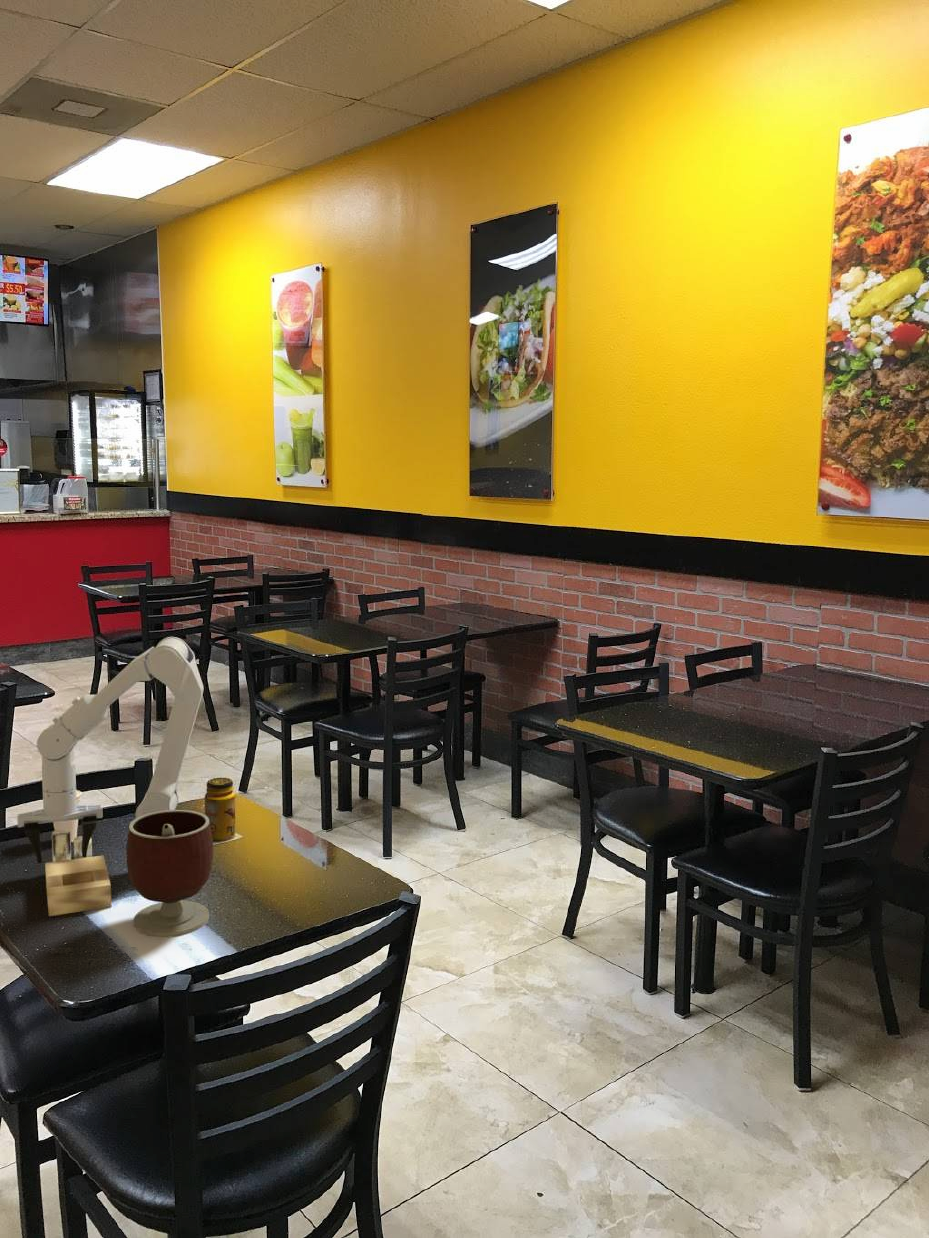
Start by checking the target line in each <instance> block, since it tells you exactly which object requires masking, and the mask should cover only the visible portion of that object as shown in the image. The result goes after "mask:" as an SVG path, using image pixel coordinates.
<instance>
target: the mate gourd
mask: <svg viewBox="0 0 929 1238" xmlns="http://www.w3.org/2000/svg"><path fill="white" fill-rule="evenodd" d="M128 827H129V829H128V834H127V839H126V840H127V841H126V848H125V849H126V850H125V851H126V867H127V873H128V877H129V879H130V880H129V881H130V884H131V885H132V887H133V888H134V889H135V890H136V891H137V892H138V894H139V895H141V897H142V898H144V899H145V900H148V901H151V902H157V903H155V904H151V905H149V906H146V907H145V908H142V909H141V910H139V911H138V912H137V913H136V914H135V915H134V917H133V927H135V928H136V929H135V928H134V929H135V930H136V931H137V930H138V931H139V932H138V931H137V932H138V933H140V934H142V935H145V936H150V937H154V936H155V937H156V936H158V938H170V937H169V936H172V937H178V936H183V935H187V934H190V933H193V932H195V931H197V930H199V929H201V928H202V927H204V926H205V925H207V923H208V921H209V919H210V911H209V909H208V907H206V906H205V905H203V904H201V903H199V902H195V901H190V900H187V899H189V898H192V897H194V896H195V895H197V894H198V893H200V891H201V890H202V888H203V887H204V886H205V884H207V881H208V880H209V879H210V876H211V871H212V866H213V861H214V860H213V859H214V845H213V839H212V833H211V828H210V824H209V818H208V817H207V816H206V815H205V813H201V812H199V811H193V810H188V809H187V810H186V809H175V810H167V811H159V812H154V813H149V814H146V815H143V816H140V817H138V818H136V817H135V818H134V819H133V820H132V821H131V822H130V824H129V826H128ZM185 899H186V900H185ZM156 938H157V937H156Z"/></svg>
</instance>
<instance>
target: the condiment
mask: <svg viewBox="0 0 929 1238" xmlns="http://www.w3.org/2000/svg"><path fill="white" fill-rule="evenodd" d="M233 786H234V781H233V779H231V778H229V777H214V778H210V779H209V780H208V781H207V782H206V788H205V789H206V792H205V794H204V815H206V816H207V817H208V818H209V824H210V828H211V833H212V839H213V846H215V845H219V844H223V843H226V842H231V841H234V840H238V839H241V838H243V837H244V835H241V834H239V833H237V832H236V794H235V792H234V787H233Z"/></svg>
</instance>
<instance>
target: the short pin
mask: <svg viewBox="0 0 929 1238" xmlns="http://www.w3.org/2000/svg"><path fill="white" fill-rule="evenodd" d="M73 852H74V853H73V854H74V859H80V858H87V857H93V838H92V837H91V839H90V841H89V845H88V849H87V857H82V835H81V836H77V837H76V838H75V839H74V842H73Z"/></svg>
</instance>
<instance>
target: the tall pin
mask: <svg viewBox="0 0 929 1238" xmlns="http://www.w3.org/2000/svg"><path fill="white" fill-rule="evenodd" d="M51 846H52V847H51V848H52V862H57V861H64V860H72V843H71V834H70V830H68V829H59V830H55V829H54V830H53V831H52V832H51Z"/></svg>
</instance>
